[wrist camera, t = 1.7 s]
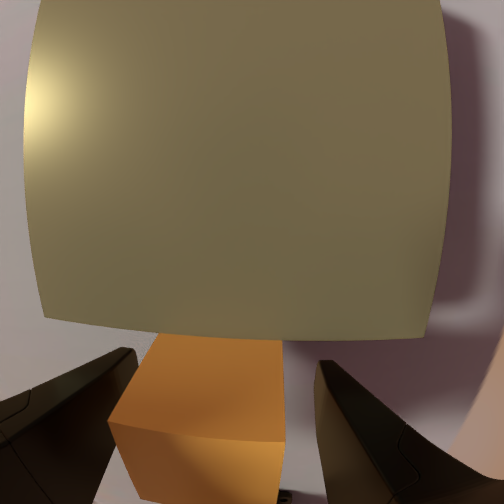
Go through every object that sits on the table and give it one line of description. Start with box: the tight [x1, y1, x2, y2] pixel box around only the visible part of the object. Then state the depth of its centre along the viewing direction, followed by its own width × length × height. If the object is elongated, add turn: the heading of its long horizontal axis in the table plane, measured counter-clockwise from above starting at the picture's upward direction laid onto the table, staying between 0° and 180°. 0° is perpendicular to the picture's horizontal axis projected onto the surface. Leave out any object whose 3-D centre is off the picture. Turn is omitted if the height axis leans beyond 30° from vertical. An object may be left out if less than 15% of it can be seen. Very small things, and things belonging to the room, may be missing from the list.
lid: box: [24, 0, 452, 504], centre depth 6 cm, size 15×10×5 cm
